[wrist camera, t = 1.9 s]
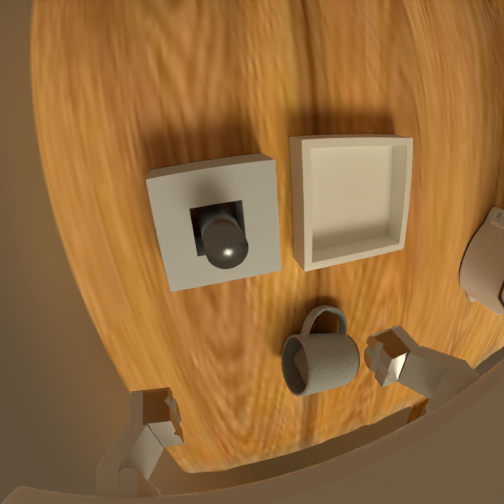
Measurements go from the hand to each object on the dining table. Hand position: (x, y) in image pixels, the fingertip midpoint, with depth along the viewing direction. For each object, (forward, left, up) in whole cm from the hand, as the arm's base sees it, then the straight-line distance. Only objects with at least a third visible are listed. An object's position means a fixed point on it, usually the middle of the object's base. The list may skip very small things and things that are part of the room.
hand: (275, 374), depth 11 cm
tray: (-14, 0, -19) cm, 24 cm away
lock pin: (0, 0, -19) cm, 19 cm away
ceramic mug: (-10, +18, -20) cm, 29 cm away
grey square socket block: (0, 0, -19) cm, 19 cm away
